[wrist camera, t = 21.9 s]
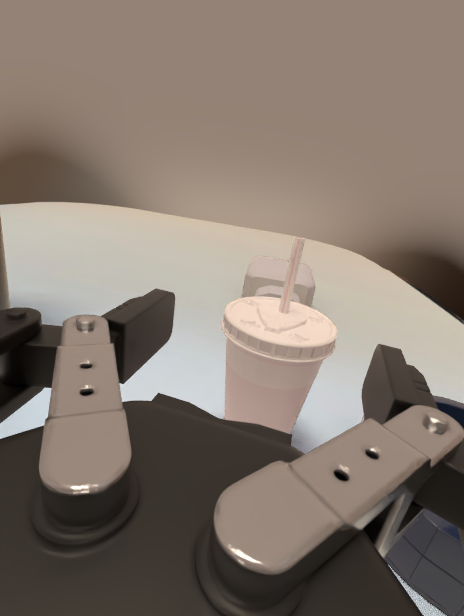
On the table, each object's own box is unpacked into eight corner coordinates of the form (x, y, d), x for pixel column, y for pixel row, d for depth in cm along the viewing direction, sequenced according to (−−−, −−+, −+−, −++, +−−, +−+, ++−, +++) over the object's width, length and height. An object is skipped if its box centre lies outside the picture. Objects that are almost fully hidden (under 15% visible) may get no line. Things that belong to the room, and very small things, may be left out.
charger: (234, 320, 41) (247, 283, 55) (311, 335, 41) (305, 293, 54) (240, 282, 39) (252, 254, 53) (321, 298, 39) (312, 264, 53)
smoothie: (306, 435, 25) (362, 243, 19) (289, 509, 19) (363, 267, 14) (223, 405, 26) (255, 221, 21) (185, 466, 21) (215, 235, 15)
